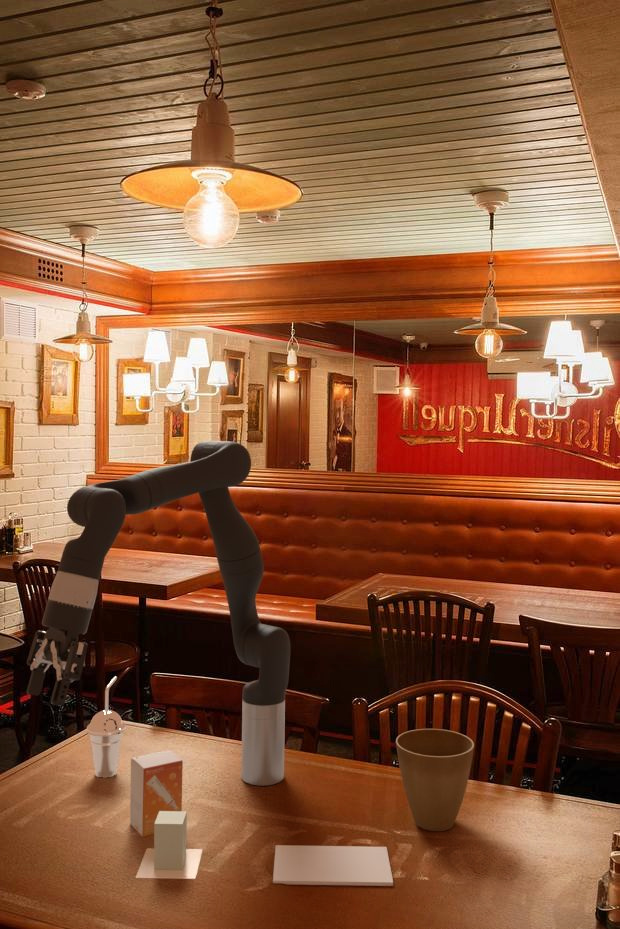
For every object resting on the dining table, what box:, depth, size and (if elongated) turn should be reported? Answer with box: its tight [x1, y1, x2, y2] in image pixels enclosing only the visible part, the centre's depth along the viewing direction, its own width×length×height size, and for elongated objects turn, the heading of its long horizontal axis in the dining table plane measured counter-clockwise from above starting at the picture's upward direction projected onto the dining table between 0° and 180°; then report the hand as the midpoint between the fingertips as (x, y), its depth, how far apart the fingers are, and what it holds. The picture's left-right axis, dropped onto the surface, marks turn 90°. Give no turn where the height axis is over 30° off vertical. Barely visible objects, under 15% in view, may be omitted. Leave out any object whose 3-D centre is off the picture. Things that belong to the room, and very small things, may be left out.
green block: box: [153, 810, 188, 870], centre depth 146 cm, size 5×5×8 cm
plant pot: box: [395, 728, 475, 832], centre depth 163 cm, size 15×15×16 cm
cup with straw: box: [85, 675, 127, 779], centre depth 184 cm, size 8×9×20 cm
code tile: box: [135, 847, 204, 880], centre depth 146 cm, size 10×10×1 cm
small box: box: [129, 749, 184, 838], centre depth 160 cm, size 8×6×13 cm
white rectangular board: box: [272, 844, 394, 887], centre depth 146 cm, size 12×20×1 cm, turn 90°
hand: (44, 699), depth 139 cm, fingers open, 8 cm apart
